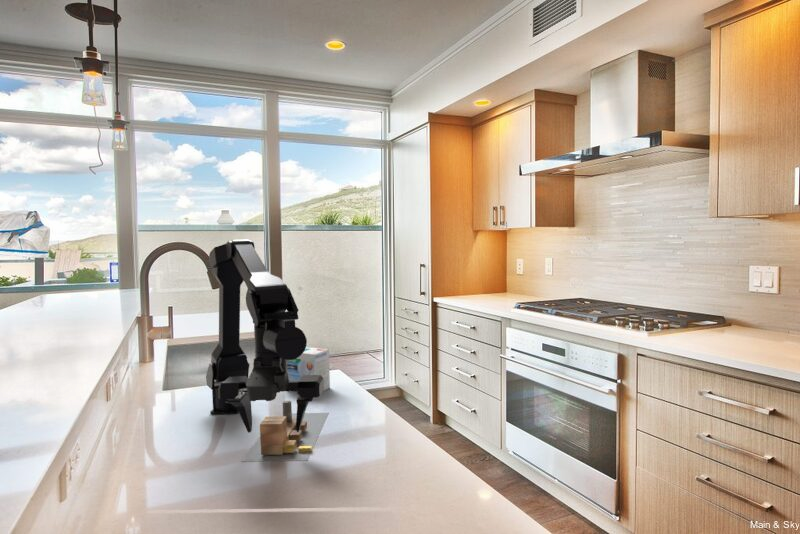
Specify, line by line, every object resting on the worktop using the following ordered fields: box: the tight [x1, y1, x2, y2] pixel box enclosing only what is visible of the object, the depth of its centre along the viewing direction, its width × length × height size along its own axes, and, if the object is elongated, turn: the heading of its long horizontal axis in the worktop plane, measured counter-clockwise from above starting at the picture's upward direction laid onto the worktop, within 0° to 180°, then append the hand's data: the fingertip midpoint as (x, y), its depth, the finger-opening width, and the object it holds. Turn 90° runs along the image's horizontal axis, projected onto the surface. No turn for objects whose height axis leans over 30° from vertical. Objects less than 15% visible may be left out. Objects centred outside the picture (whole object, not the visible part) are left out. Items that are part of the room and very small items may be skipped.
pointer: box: [298, 446, 313, 453], centre depth 96 cm, size 2×1×1 cm, turn 89°
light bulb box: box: [287, 346, 331, 392], centre depth 137 cm, size 11×7×11 cm, turn 62°
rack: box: [261, 400, 307, 455], centre depth 100 cm, size 6×14×6 cm, turn 179°
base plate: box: [241, 412, 330, 463], centre depth 104 cm, size 12×25×1 cm, turn 179°
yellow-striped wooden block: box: [259, 415, 287, 445], centre depth 95 cm, size 4×4×4 cm
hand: (273, 431), depth 95 cm, fingers open, 9 cm apart
